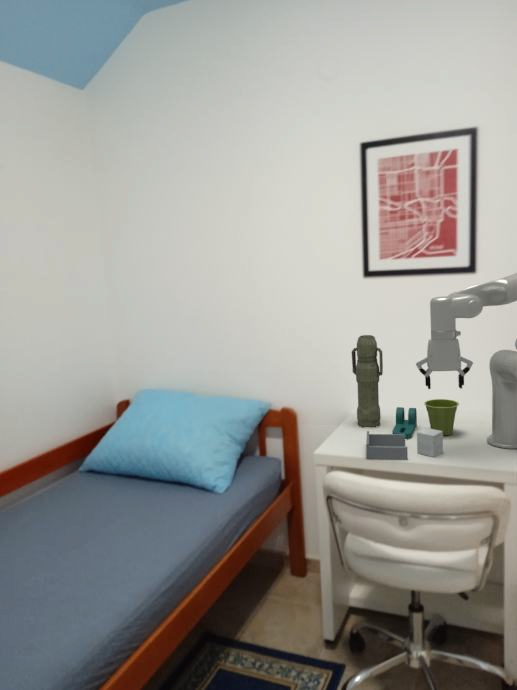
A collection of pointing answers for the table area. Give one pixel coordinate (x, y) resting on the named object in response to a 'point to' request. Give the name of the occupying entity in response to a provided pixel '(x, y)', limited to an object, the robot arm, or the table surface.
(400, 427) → the bracket
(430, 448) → the product box
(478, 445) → the table surface
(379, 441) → the box
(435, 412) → the plant pot
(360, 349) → the thermos
